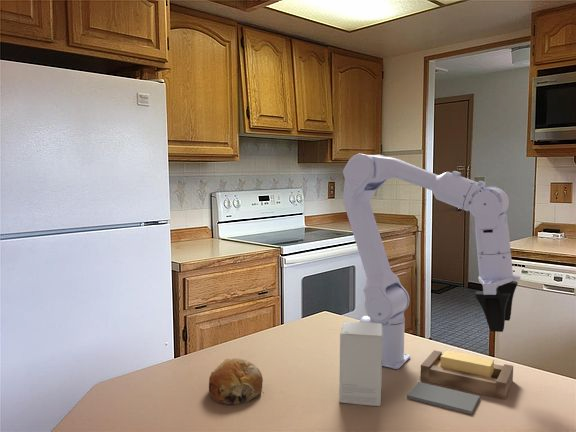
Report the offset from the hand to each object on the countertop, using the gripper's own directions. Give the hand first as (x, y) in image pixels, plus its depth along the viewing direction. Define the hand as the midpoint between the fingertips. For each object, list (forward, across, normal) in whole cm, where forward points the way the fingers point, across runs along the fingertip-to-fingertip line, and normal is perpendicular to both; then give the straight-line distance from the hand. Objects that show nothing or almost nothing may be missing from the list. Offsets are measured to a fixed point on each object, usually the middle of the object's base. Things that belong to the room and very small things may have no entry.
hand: (500, 325), depth 90 cm
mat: (+11, -10, +9) cm, 17 cm away
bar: (+9, 0, +7) cm, 11 cm away
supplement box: (+10, -16, +22) cm, 29 cm away
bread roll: (+8, -28, +42) cm, 50 cm away
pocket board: (+11, 0, +7) cm, 13 cm away
